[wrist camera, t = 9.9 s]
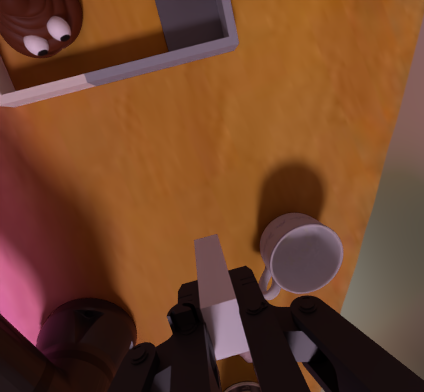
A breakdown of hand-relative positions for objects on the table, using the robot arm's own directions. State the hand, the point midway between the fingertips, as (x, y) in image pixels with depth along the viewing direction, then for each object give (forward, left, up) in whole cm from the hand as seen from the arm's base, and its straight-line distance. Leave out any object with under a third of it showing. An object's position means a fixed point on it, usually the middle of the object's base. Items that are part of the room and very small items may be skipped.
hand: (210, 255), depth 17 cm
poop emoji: (-4, +27, -25) cm, 37 cm away
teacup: (+5, -17, -25) cm, 30 cm away
